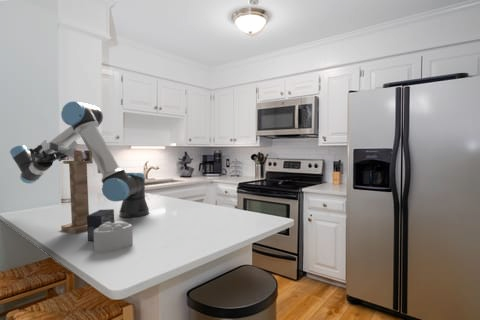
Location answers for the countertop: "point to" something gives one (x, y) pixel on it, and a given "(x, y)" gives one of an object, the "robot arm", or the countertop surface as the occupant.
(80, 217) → the stand
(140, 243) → the countertop surface
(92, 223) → the small box
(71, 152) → the lever
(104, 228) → the grey rounded container
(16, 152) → the robot arm
